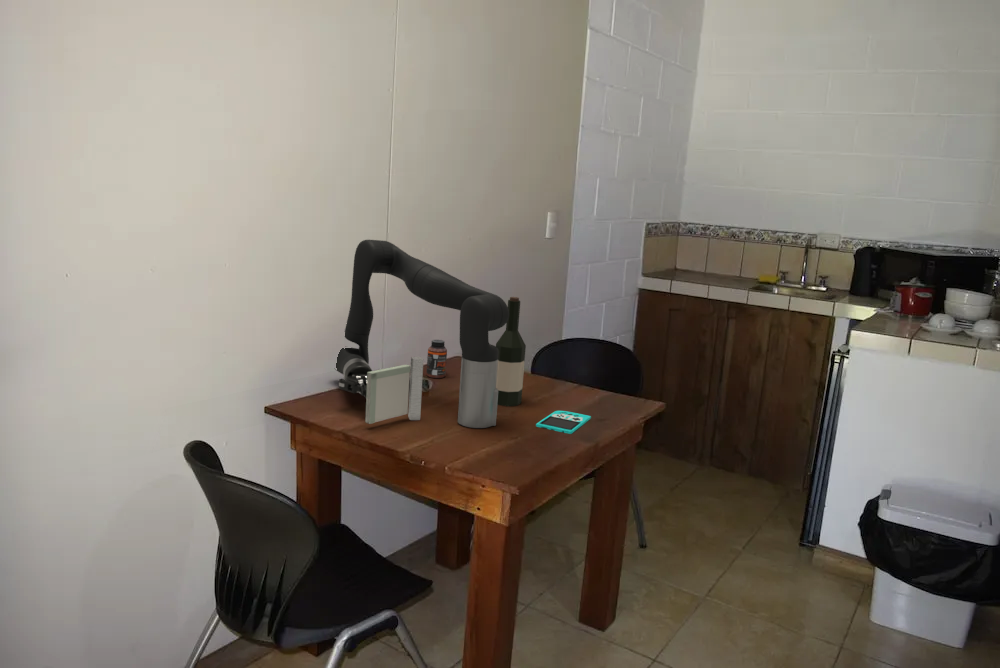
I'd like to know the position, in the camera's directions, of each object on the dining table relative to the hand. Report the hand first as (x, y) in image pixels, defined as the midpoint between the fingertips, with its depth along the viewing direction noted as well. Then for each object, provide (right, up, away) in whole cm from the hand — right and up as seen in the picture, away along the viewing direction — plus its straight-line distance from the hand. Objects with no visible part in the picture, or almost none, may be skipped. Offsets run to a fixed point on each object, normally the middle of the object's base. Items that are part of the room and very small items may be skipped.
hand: (367, 393), depth 194 cm
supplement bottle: (+13, +2, +47) cm, 49 cm away
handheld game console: (+50, -9, +11) cm, 52 cm away
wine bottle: (+35, -5, +25) cm, 43 cm away
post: (+11, -7, +5) cm, 14 cm away
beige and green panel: (+5, -6, -1) cm, 8 cm away
